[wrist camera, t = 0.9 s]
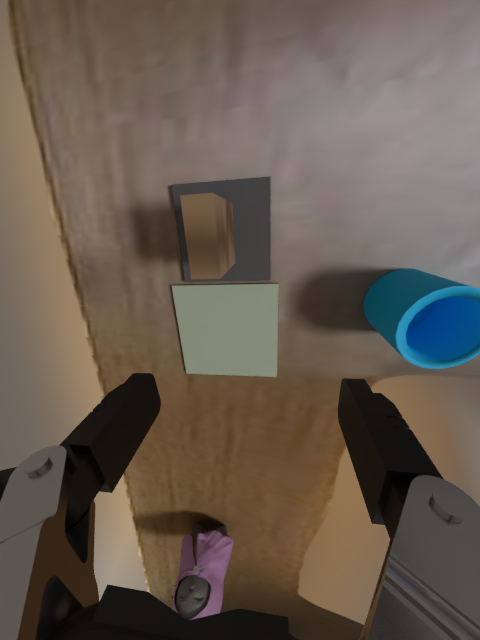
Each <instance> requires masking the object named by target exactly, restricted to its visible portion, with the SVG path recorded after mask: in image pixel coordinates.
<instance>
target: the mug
mask: <svg viewBox="0 0 480 640" xmlns="http://www.w3.org/2000/svg"><path fill="white" fill-rule="evenodd" d="M363 309H364V315H365V317H366V319H367V320H368V322H369V323H370V324H371V325H372V326H373V327H374V328H375V329H376V330H377V331H378V332H379V333H380V334H381V335H382V336H383V337H384V338H385V339H386V341H387V342H388V343H389V344H390V345H391V346H392V347H393V348H394V349H395V350H396V351H397V352H398V353H399V354H400V355H401V356H402V357H404V358H405V359H406V360H408V361H409V362H410V363H412V364H414V365H417V366H420V367H423V368H430V369H442V368H448V367H453V366H457V365H459V364H462V363H464V362H467V361H469V360H471V359H473V358H474V357H475V356H477V355H478V354H480V289H477V288H474V287H471V286H468V285H465V284H461V283H458V282H455V281H452V280H448V279H445V278H442V277H438V276H435V275H432V274H429V273H425V272H422V271H419V270H416V269H399V270H396V271H392V272H389V273H387V274H386V275H384V276H382V277H381V278H379V279H378V280H377V281H376V282H375V283H374V284H373V285H372V286H371V287H370V289H369V290H368V292H367V294H366V296H365V299H364V304H363Z"/></svg>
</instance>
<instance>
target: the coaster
mask: <svg viewBox="0 0 480 640" xmlns="http://www.w3.org/2000/svg"><path fill="white" fill-rule="evenodd" d="M171 187H172V194H173V201H174V208H175V215H176V222H177V229H178V236H179V243H180V249H181V256H182V263H183V270H184V277H185V282H209V281H258V280H270V177H261V178H249V179H237V180H225V181H213V182H201V183H189V184H177V185H171ZM204 193H214V194H216V195H218V196H220V197H222V198H223V199H225V200H227V201H229V202H231V203H232V207H233V225H234V243H235V260H236V263H235V264H234V265H233V266H232V267H231V268H230V269H229V270H228V271H227V272H226V273H225V274H224V275H223V276H222V277H221V278H220V279H191V274H190V267H189V259H188V252H187V244H186V237H185V229H184V222H183V214H182V207H181V199H180V195H191V194H204Z"/></svg>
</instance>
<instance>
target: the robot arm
mask: <svg viewBox="0 0 480 640" xmlns="http://www.w3.org/2000/svg"><path fill="white" fill-rule="evenodd" d="M160 407H161V400H160V396H159V393H158V389H157V385H156V382H155V378H154V376H153V374H151V373H134V374H132V375H131V376H130V377H129V378H128V379H127V381H126V382H125V383H124V384H121V385H120V386H118V387H117V388H115V389H114V390H112V391H111V392H109V393H108V395H107V396H106V397H105V398H104V399H103V400H102V401H101V403H100V404H98V405H97V406H96V407H95V408H94V409H93V412H90V413H89V415H88V416H87V417H86V418H85V419H84V420H83V421H82V422H81V423H80V424H79V425H78V426H77V427H76V428H75V429H74V430H73V431H72V433H71V434H70V435H69V436H68V437H67V438H66V439H65V440H64V441H63V442H62V443H61V444H60V445H59V446H51V447H47V448H44V449H42V450H40V451H38V452H36V453H34V454H33V455H31V456H29V457H28V458H27V459H25V460H24V461H23V462H22V463H21V464H20V465H19V466H18V467H15V468H10V469H6V470H2V471H0V640H299V639H298V638H296V637H295V636H293V635H292V634H290V633H289V631H288V617H283V616H278V615H272V614H267V613H261V612H256V611H250V610H245V609H235V610H231V611H227V612H222V613H218V614H214V615H209V616H205V617H201V618H197V619H191V620H189V619H185V618H183V617H182V616H181V615H179V614H178V613H176V612H175V611H174V610H172V609H171V608H169V607H168V606H167V605H165V604H164V603H163V602H161V601H160V600H158V599H157V598H156V597H154V596H153V595H151V594H150V593H149V592H145V591H139V590H134V589H129V588H123V587H117V586H112V585H107V588H106V589H105V591H104V594H103V596H102V598H101V600H100V602H99V595H98V588H97V583H96V579H95V575H94V566H93V563H94V529H95V527H94V526H95V503H94V498H95V496H96V494H97V493H98V492H99V491H101V492H110V493H112V492H113V490H114V488H115V487H116V485H117V483H118V481H119V480H120V478H121V477H122V475H123V473H124V472H125V470H126V468H127V466H128V465H129V463H130V461H131V460H132V458H133V456H134V455H135V453H136V451H137V449H138V448H139V446H140V444H141V443H142V441H143V439H144V438H145V436H146V434H147V433H148V431H149V429H150V427H151V426H152V424H153V422H154V421H155V419H156V417H157V416H158V414H159V411H160ZM338 418H339V424H340V427H341V430H342V433H343V436H344V439H345V442H346V445H347V448H348V451H349V454H350V458H351V461H352V463H353V467H354V470H355V472H356V476H357V479H358V482H359V485H360V488H361V491H362V494H363V497H364V500H365V503H366V507H367V510H368V513H369V516H370V519H371V522H372V524H381V525H382V524H383V525H385V526H386V529H387V531H388V534H389V537H390V539H391V540H390V542H389V546H388V549H387V552H386V556H385V559H384V562H383V565H382V569H381V572H380V575H379V579H378V582H377V585H376V589H375V592H374V595H373V599H372V602H371V605H370V609H369V612H368V615H367V618H366V622H365V625H364V628H363V631H362V634H361V637H360V640H480V507H479V506H478V505H477V503H476V502H475V501H474V500H473V499H472V498H471V497H470V496H469V495H467V494H466V493H465V492H464V491H463V490H461V489H460V488H458V487H457V486H455V485H453V484H452V483H450V482H448V481H446V480H444V479H443V477H442V476H441V475H440V473H439V472H438V470H437V469H436V467H435V465H434V464H433V462H432V461H431V460H430V458H429V456H428V455H427V454H426V452H425V450H424V449H423V447H422V446H421V444H420V443H419V442H418V440H417V438H416V437H415V435H414V434H413V432H412V431H411V430H410V429H409V426H408V425H407V423H406V421H405V420H404V419H402V415H401V414H400V412H399V411H398V409H397V408H396V406H395V405H394V404H393V403H392V402H391V401H390V400H388V399H387V398H386V397H385V396H384V395H382V394H381V393H373V392H372V391H371V389H370V387H369V385H368V384H367V382H366V381H365V380H364V379H344V378H343V379H342V382H341V389H340V396H339V404H338Z"/></svg>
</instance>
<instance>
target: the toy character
mask: <svg viewBox="0 0 480 640" xmlns="http://www.w3.org/2000/svg"><path fill="white" fill-rule="evenodd" d="M233 542H234V540H233V539H232V538H231V537H230V536H228V535H227V528H226V526H225V525H222V526H220V527H218V528H217V529H216V530H212V531H209V532H207V533H204V531H203V529H202V527H201V525H200V524H196V525H195V526H194V528H193V530H192V532H191V533H187V534H185V536H184V538H183V539H182V549H181V560H180V570H179V576H178V578H177V581H176V585H175V590H174V595H173V601H172V610H174V611H175V612H176V613H178V614H179V615H181V616H182V617H183V618H185V619H189V620H191V619H197V618H201V617H205V616H209V615H214V614H218V613H220V610H221V605H222V598H223V582H224V576H225V573H226V569H227V566H228V563H229V559H230V555H231V551H232V547H233Z"/></svg>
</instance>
